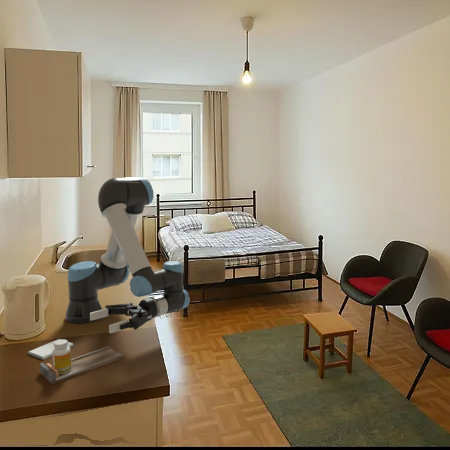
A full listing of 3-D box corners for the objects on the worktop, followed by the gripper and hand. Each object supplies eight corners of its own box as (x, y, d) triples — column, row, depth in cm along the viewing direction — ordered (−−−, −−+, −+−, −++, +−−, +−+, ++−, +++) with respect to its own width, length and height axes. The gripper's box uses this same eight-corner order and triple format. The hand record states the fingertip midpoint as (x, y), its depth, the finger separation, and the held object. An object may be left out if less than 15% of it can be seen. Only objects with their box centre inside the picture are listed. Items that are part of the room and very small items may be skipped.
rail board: (40, 372, 128) (39, 363, 128) (108, 348, 145) (108, 340, 145) (52, 384, 121) (51, 375, 121) (122, 358, 138) (122, 349, 138)
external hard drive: (28, 355, 141) (58, 342, 151) (43, 361, 137) (73, 347, 147) (28, 351, 141) (58, 338, 151) (43, 356, 137) (73, 343, 147)
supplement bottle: (74, 370, 129) (73, 341, 127) (58, 376, 125) (56, 347, 123) (66, 364, 132) (64, 336, 131) (50, 371, 128) (48, 342, 127)
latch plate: (46, 370, 128) (46, 363, 128) (49, 369, 129) (48, 362, 129) (56, 378, 123) (55, 371, 123) (58, 377, 124) (58, 370, 124)
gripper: (172, 327, 142) (119, 346, 128) (134, 307, 160) (83, 322, 145) (172, 307, 141) (118, 323, 126) (134, 289, 159) (82, 302, 144)
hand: (99, 322), depth 136 cm, fingers open, 13 cm apart
